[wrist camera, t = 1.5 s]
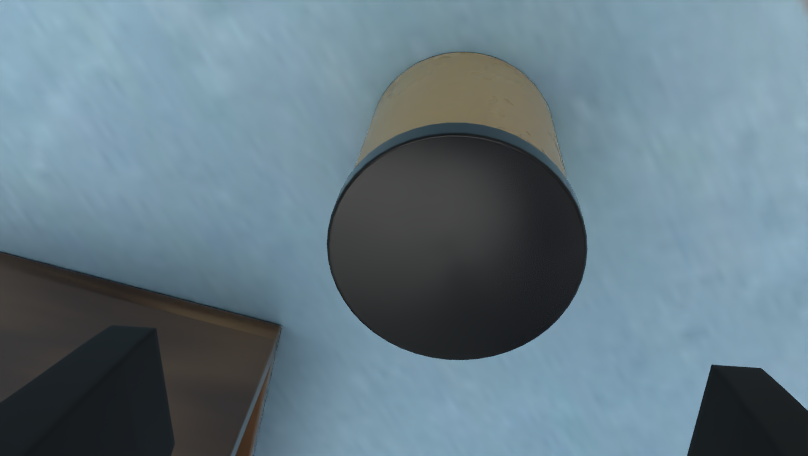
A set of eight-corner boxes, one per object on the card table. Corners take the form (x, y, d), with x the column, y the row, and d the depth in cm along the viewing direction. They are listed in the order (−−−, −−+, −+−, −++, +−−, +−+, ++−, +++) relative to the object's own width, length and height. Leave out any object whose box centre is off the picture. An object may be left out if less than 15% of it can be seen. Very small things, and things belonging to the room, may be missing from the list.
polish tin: (571, 53, 17) (608, 144, 12) (545, 233, 20) (567, 371, 15) (368, 41, 18) (325, 124, 13) (364, 219, 20) (327, 350, 15)
